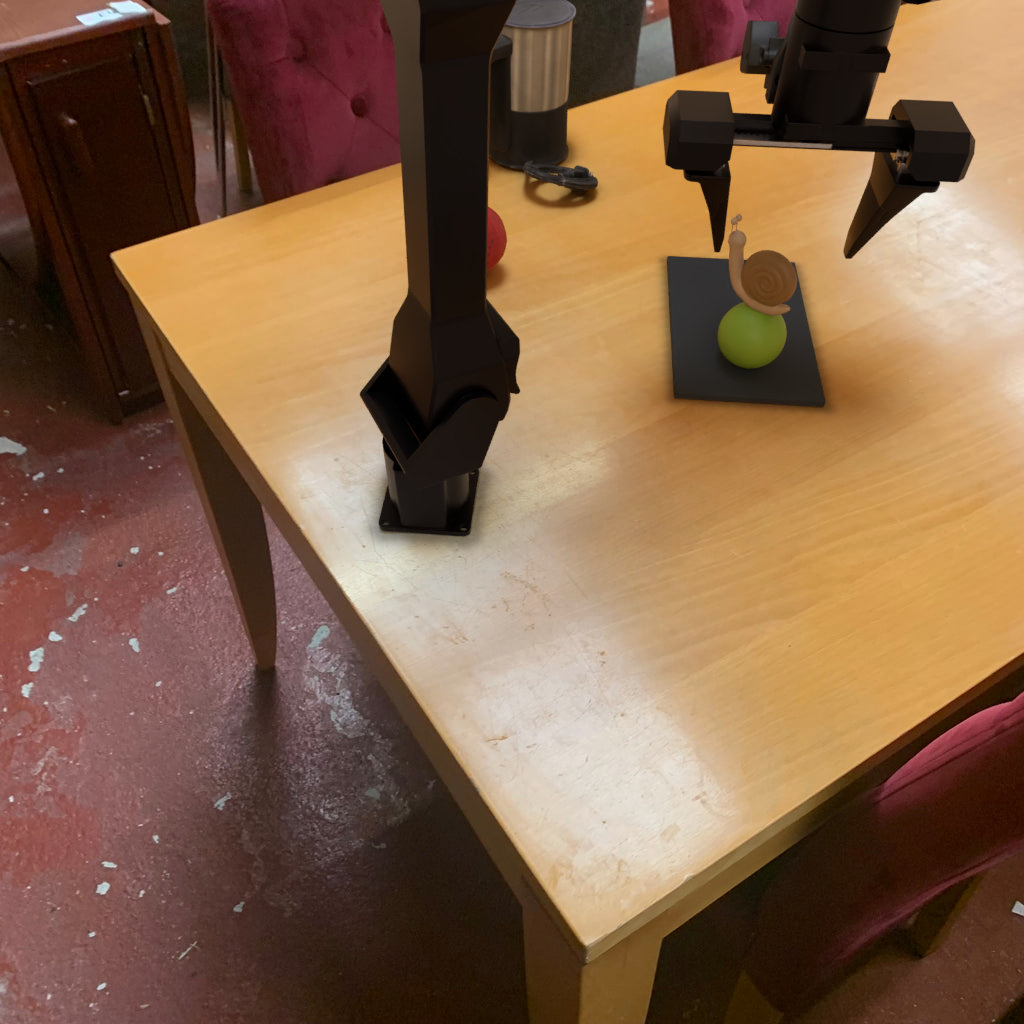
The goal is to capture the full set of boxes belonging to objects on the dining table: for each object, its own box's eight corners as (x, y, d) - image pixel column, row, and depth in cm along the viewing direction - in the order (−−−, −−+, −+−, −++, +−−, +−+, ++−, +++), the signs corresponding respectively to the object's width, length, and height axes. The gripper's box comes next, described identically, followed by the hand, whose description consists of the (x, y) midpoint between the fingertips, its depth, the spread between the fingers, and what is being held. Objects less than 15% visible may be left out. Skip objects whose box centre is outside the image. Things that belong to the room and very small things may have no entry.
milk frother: (514, 125, 104) (515, -15, 93) (636, 159, 99) (652, 15, 88) (446, 177, 96) (438, 30, 85) (575, 217, 91) (585, 66, 80)
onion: (499, 296, 82) (498, 216, 76) (438, 288, 82) (433, 209, 76) (512, 261, 85) (512, 182, 79) (453, 254, 86) (449, 176, 80)
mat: (824, 407, 72) (826, 401, 71) (673, 398, 72) (675, 392, 72) (793, 267, 85) (794, 262, 84) (666, 261, 85) (667, 255, 85)
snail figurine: (724, 328, 77) (752, 201, 68) (790, 359, 75) (828, 230, 66) (689, 358, 75) (714, 229, 66) (757, 391, 72) (792, 261, 63)
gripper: (970, -26, 57) (890, 201, 68) (676, -37, 58) (647, 189, 69) (1024, 42, 49) (924, 284, 61) (686, 29, 50) (651, 270, 62)
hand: (781, 252), depth 63 cm, fingers open, 9 cm apart
